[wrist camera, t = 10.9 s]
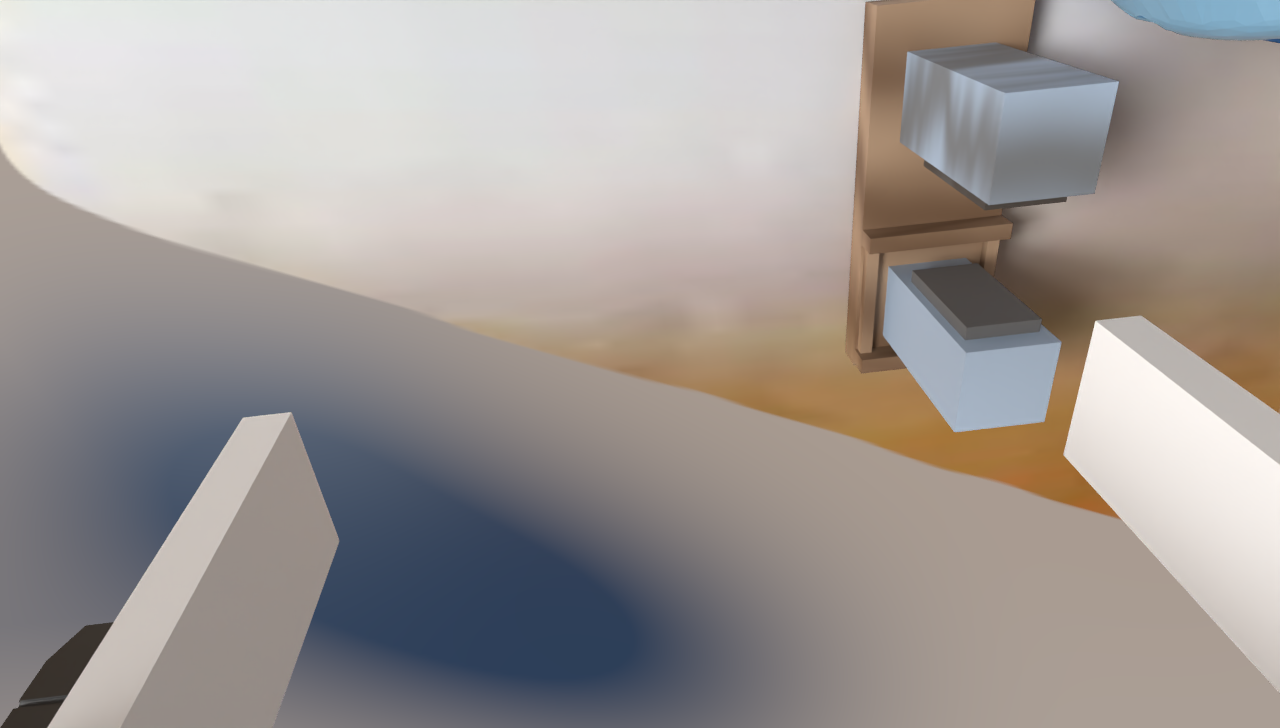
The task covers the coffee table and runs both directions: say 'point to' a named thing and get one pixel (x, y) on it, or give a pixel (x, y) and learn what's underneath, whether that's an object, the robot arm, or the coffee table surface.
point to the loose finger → (970, 344)
